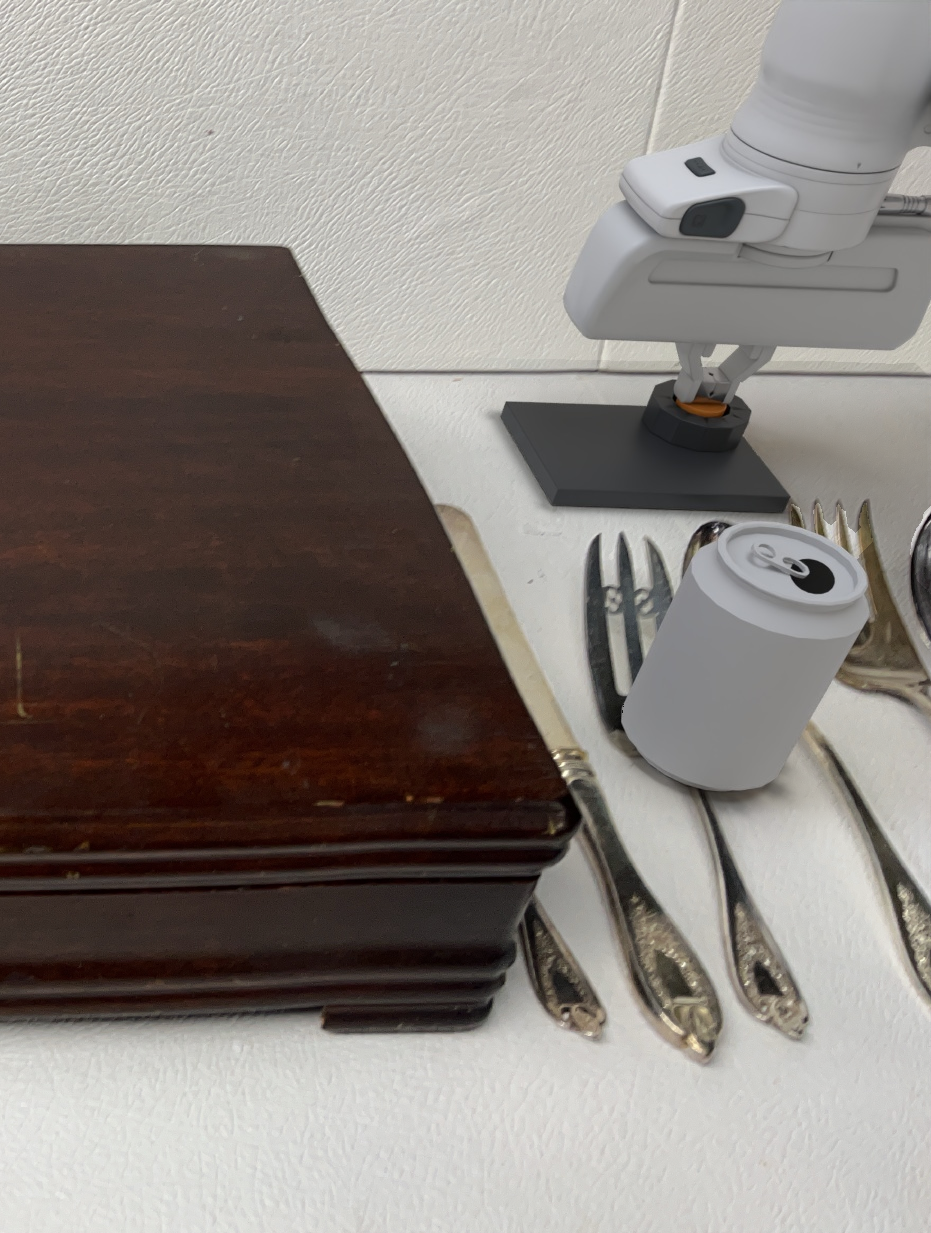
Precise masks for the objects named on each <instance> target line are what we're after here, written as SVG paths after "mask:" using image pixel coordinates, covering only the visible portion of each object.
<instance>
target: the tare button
mask: <svg viewBox="0 0 931 1233" xmlns="http://www.w3.org/2000/svg"><path fill="white" fill-rule="evenodd" d="M675 403H676V404H677V405H678V406H679V407H681V408H682V409H684V410H686V411H688V412H689V413H692V414H695V415H699V416H703V417H717V418H720V417H722V416H723V414H724V412H725V410H726V404H707V403H682V402H680V401H679V399H678V398H677V399H676V402H675Z"/></svg>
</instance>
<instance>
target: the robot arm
mask: <svg viewBox="0 0 931 1233" xmlns="http://www.w3.org/2000/svg"><path fill="white" fill-rule="evenodd" d="M759 60H760V61H759V69H758V75H757V78H756V80H755V83H754V85H753V87H752V89H751V91H750V92H749V94H748V95H747V97H746V99H745V100H744V101H743V102H742V103H741V105H740V106H739V107H738V109H737V110H736V112H735V114H734V115H733V117H732V119H731V122H730V124H729V126H728V129H727V132H726V133H725V132H724V133H719V134H717V135H713V136H711V137H708V138H705V139H702V140H701V139H700V140H699V141H694V142H692V143H688V144H685V145H681V146H677V147H672V148H669V149H665V150H660V151H656V152H653V153H649V154H644V155H639V156H638V157H635V158H632V159H631V160H629V161H628V162H627V163H626V164H625V165H624V167H623V168H622V171H621V172H620V176H619V180H618V188H619V190H620V193H621V194H622V195H623V197H624V199H623V200H620V201H618V202H616V203H614V204H612V205H611V206H610V207H609V208H607V209H606V210H605V211H604V212H603V213H602V214H601V216H599V218H598V219H597V220H596V221H595V223H594V225H593V227H592V228H591V230H590V232H589V233H588V235H587V238H586V240H585V242H584V243H583V246H582V248H581V250H580V252H579V254H578V256H577V258H576V261H575V263H574V265H573V268H572V271H571V273H570V275H569V278H568V281H567V283H566V286H565V289H564V292H563V297H562V303H563V308H564V309H565V312H566V314H567V317H569V318H568V319H570V321H571V323H572V325H574V327H575V328H576V329H577V330H578V332H579V333H580V335H582V336H583V337H584V338H585V339H588V340H595V341H601V340H602V341H623V342H628V341H629V342H646V343H647V342H649V343H650V342H651V343H673V344H674V345H675V348H676V353H677V357H678V361H679V366H680V368H681V369H680V371H679V373H678V376H677V378H676V379H677V380H676V382H675V385H674V394H675V395H676V397H677V398H678V399H679V401H680V402H682V403H707V404H730V403H731V401H732V399H733V397H734V395H736V393H737V391H738V389H739V387H740V385H741V383H744V382H745V381H747V380H748V379H749V378H750V377H751V376H752V375H754V374H755V373H756V372H758V371H759V370H760V369H762V368H763V367H764V366H765V365H766V364H768V363H769V362H770V361H771V360H772V358H773V356H774V354H775V352H776V350H777V348H778V347H783V348H807V349H832V350H833V349H836V350H861V351H862V350H863V351H894V350H895V351H896V349H898V348H900V347H901V346H903V345H905V344H906V343H907V342H909V341H910V340H911V339H913V337H914V336H915V335H916V334H917V332H918V330H919V328H920V327H921V324H922V323H923V320H924V318H925V315H926V313H927V311H928V308H929V305H930V303H931V194H922V195H905V194H901V193H891V192H889V191H890V189H891V187H892V185H893V183H894V181H895V178H896V177H897V174H898V172H899V171H900V168H901V166H902V164H903V162H904V160H905V158H906V156H907V154H908V153H909V152H910V151H912V150H914V149H917V148H919V147H921V148H922V147H929V148H931V0H781V1H780V4H779V6H778V8H777V10H776V12H775V15H774V17H773V20H772V22H771V25H770V26H769V29H768V31H767V34H766V36H765V39H764V40H763V44H762V46H761V52H760V59H759ZM717 345H732V346H738V347H737V348H736V349H735V350H734V351H733V352H731V354H730V355H728V356H727V357H726V358H725V360H723V362H721V363H720V364H719V365H718V366H703V364H702V358H711V357H712V355H713V353H714V351H715V349H716V347H717Z"/></svg>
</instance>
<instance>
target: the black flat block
mask: <svg viewBox="0 0 931 1233" xmlns="http://www.w3.org/2000/svg"><path fill="white" fill-rule="evenodd" d="M676 380H677V378H676V379H668V380H666V381H663V382H660V383H657V384H655V385H654V386H653V389H652V391H651V394H650V396H649V399H648V401H647V404H646V405H635V404H631V405H630V404H606V403H605V404H602V403H572V402H570V403H569V402H541V401H515V400H514V401H513V400H510V401H509V400H506V401H505V402H504V405H503V408H502V410H501V414H500V418H501V420H502V422H503V423H504V425H505V427H506V428H507V430H508V432H509V434H510V435H511V437H512V439H513V440H514V442H515V444H516V446H517V447H518V449H519V451H520V453H521V455H522V456H523V458H524V459H525V461H526V463H527V465H528V466H529V468H530V470H531V471H532V473H533V475H534V477H535V478H536V480H537V481H538V484H539V485H540V487H541V489H542V491H543V492H544V494H545V495H546V497H547V499H548V500H549V502H550V504H551V505H552V506H567V507H597V508H598V507H599V508H600V507H601V508H626V509H627V508H630V509H662V510H663V509H664V510H691V511H692V510H693V511H722V512H723V511H724V512H748V513H749V512H753V513H757V512H758V513H784V512H785V510H786V508H787V506H788V504H789V502H790V500H791V499H792V498H791V497H792V496H791V495H790V494H789V492H788V491H787V490H786V488H785V487H784V486H783V485H782V484H781V482H780V481H779V479H778V478H777V477H776V476H775V475H774V474H773V472H772V471H771V470H770V468H769V466H767V464H766V463H765V462H764V461H763V459H762V458H761V457H760V456H759V454H758V453H757V452H756V451H755V449H754V448H753V447H752V445H751V444H750V443H749V441H748V440H747V439H746V438H745V437H744V434H745V432H746V429H747V427H748V425H749V423H750V419H751V416H752V409H751V408H750V407H749V406H748V405H747V403H746V402H745V400H743V398H741V397H740V396H738V395H736V394H735V395H734V397H733V399H732V401H731V403H730V404H726V410H725V412H724V414H723V416H722V417H720V418H717V417H703V416H699V415H695V414H692V413H689V412H688V411H686V410H684V409H682V408H681V407H679V406H678V405H677V404H676V403H675V402H676V399H677V397H676V395H675V394H674V385H675V382H676Z"/></svg>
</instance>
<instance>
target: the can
mask: <svg viewBox="0 0 931 1233" xmlns="http://www.w3.org/2000/svg"><path fill="white" fill-rule="evenodd" d="M868 588H869V580H868V574H867V572H866V571H865V569H864V568H863V566H862V565H861V563H860V562H859V561H858V559H857V558H856V557H854V555H852V554H851V553H850V552H848V551H847V550H846V549H845V548H844V547H843V546H841V545H840V544H838V543H836V542H834V541H832V540H831V539H829V538H827V537H826V536H824V535H821V534H818V533H816V532H813V531H811V530H808V529H805V528H803V527H800V526H797V525H796V526H795V525H791V524H787V523H782V522H778V521H777V522H775V521H763V520H753V521H747V522H740V523H735V524H733V525H732V526H729V527H727V528H725V529H724V530H723V531H722V532H721V533H720V535H719V536H718V537H717V540H715V541H712V542H710V543H708V544H705V545H704V546H701V547H700V548H699V549H698V550H697V551H696V552H695V554H694V555H693V556H692V558H691V560H690V562H689V564H688V566H687V569H686V570H685V572H684V574H683V577H682V579H681V581H680V583H679V585H678V587H677V589H676V591H675V594H674V596H673V598H672V600H671V602H670V604H669V606H668V608H667V611H666V613H665V615H664V616H663V619H662V622H661V624H660V626H659V628H658V630H657V632H656V633H655V637H654V638H653V640H652V643H651V645H650V647H649V649H648V651H647V653H646V656H645V658H644V659H643V662H642V664H641V666H640V668H639V671H638V672H637V675H636V676H635V679H634V681H633V683H632V685H631V687H630V690H629V691H628V694H627V696H626V698H625V701H624V702H623V704H624V705H622V707H621V711H622V710H623V713H622V712H621V721H620V722H621V725H622V727H623V729H624V732H625V734H626V736H627V738H628V740H629V741H630V742H631V743H632V744H633V745H634V747H635V748H636V751H637V752H638V753H639V754H640V755H641V757H643V759H644V760H645V761H646V762H647V763H648V764H649V765H651V767H653V768H655V769H656V770H657V771H659V772H660V773H661V774H663V775H664V776H666V777H668V778H670V779H673V780H675V781H677V782H679V783H681V784H683V785H686V786H689V787H693V788H697V789H701V790H704V791H714V792H731V791H745V790H751V789H758V788H763V787H764V786H766V785H768V784H770V783H771V782H772V781H775V780H776V779H777V778H778V777H779V774H780V773H781V771H782V769H783V767H784V766H785V765H786V763H787V760H788V759H789V757H790V755H791V754H792V751H793V750H794V748H795V746H796V745H797V743H798V741H799V739H800V738H801V736H802V734H803V733H804V731H805V729H806V728H807V725H808V724H809V722H810V721H811V719H812V717H813V715H814V713H815V712H816V710H817V708H818V707H819V705H820V703H821V701H822V699H823V698H824V696H825V695H826V692H827V691H828V689H829V688H830V685H831V684H832V682H833V680H834V679H835V677H836V675H837V673H838V672H839V671H840V669H841V667H842V665H843V663H844V661H845V660H846V658H847V656H848V654H849V653H850V651H851V649H852V647H853V646H854V644H855V642H856V640H857V638H858V637H859V635H860V633H861V631H863V629H864V626H865V625H866V623H867V621H868V619H869V618H870V609H869V604H868V599H867V598H866V596H865V593H866V591H867V589H868ZM623 706H624V707H623Z"/></svg>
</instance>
